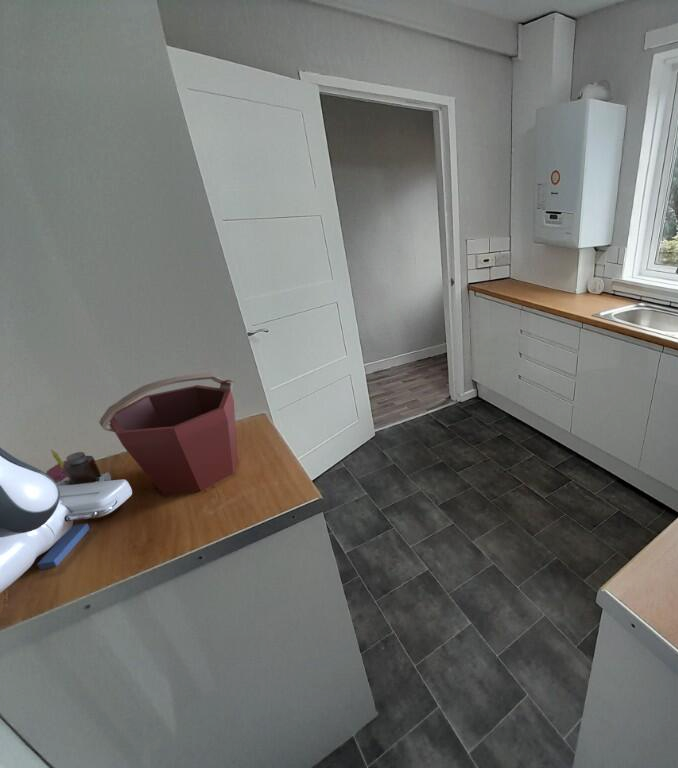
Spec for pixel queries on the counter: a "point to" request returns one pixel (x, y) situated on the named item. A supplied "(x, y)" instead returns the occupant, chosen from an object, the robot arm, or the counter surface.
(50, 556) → the blue stick
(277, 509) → the counter surface
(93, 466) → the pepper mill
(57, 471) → the cupcake
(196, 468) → the bucket
